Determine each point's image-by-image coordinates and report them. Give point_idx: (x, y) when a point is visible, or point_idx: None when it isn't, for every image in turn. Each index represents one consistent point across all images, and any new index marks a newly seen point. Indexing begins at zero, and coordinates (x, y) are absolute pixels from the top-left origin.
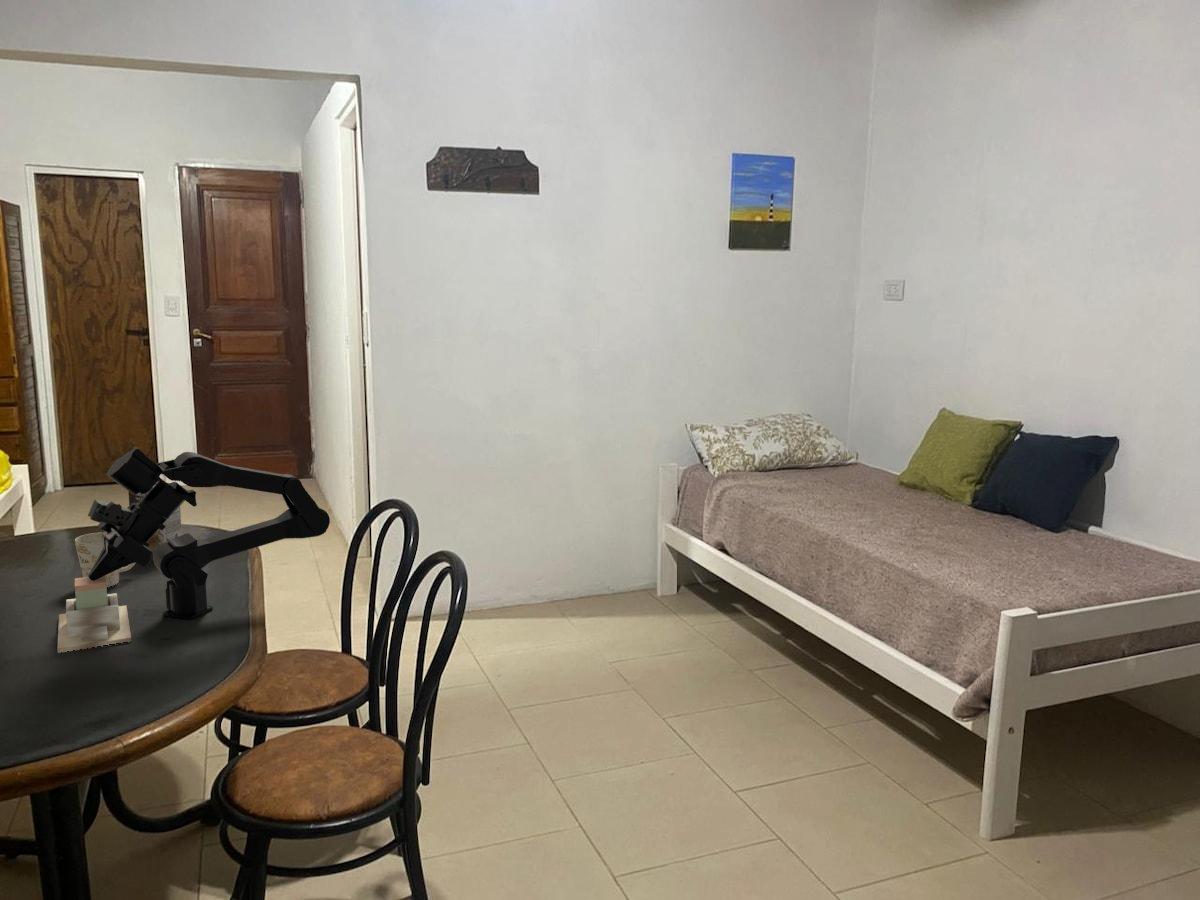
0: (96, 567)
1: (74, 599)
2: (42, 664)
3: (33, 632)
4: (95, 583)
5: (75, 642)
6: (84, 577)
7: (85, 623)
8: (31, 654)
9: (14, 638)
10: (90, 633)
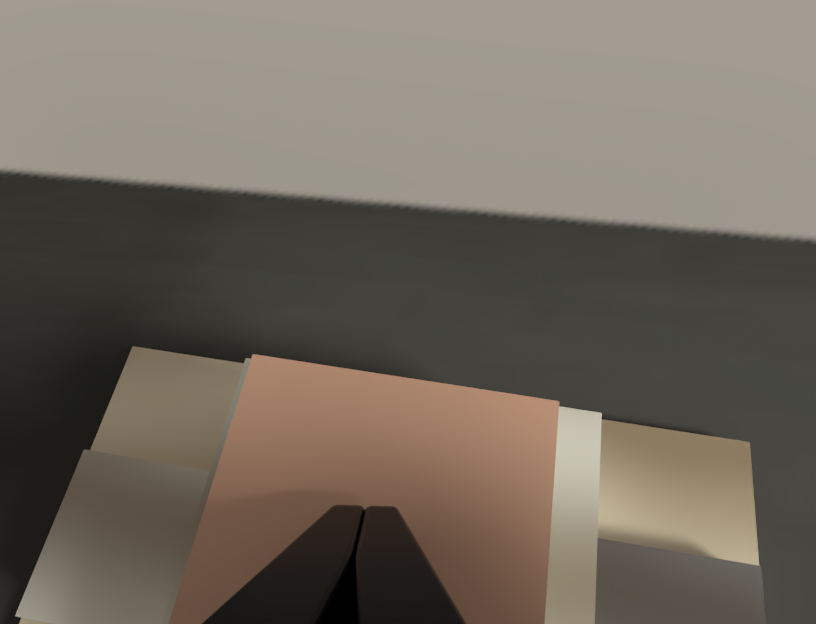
0: (237, 591)
1: (573, 465)
2: (50, 283)
3: (548, 306)
4: (200, 566)
5: (152, 438)
6: (541, 498)
7: None
8: (221, 262)
9: (503, 230)
10: (107, 513)
